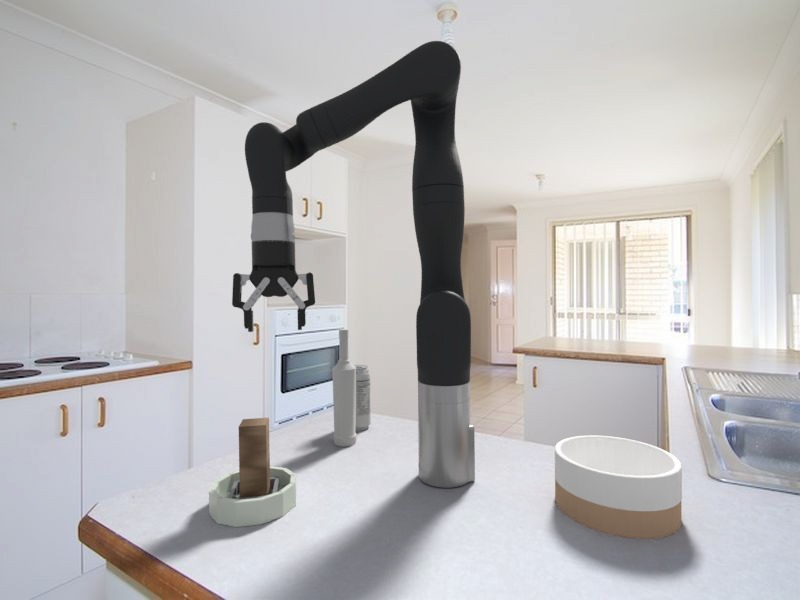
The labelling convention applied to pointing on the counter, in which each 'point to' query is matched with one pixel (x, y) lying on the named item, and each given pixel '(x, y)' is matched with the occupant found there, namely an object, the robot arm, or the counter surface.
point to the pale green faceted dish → (252, 499)
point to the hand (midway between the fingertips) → (275, 330)
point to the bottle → (344, 395)
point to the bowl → (619, 486)
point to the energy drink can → (362, 398)
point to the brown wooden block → (254, 457)
